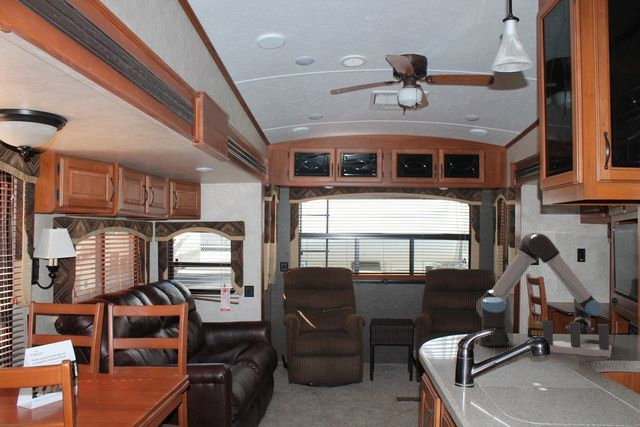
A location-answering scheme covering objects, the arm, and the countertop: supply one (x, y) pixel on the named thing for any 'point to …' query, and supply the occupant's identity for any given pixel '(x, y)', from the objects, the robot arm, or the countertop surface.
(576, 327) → the dark grey upright block
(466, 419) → the countertop surface
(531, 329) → the ammunition clip
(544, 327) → the three peg stand
